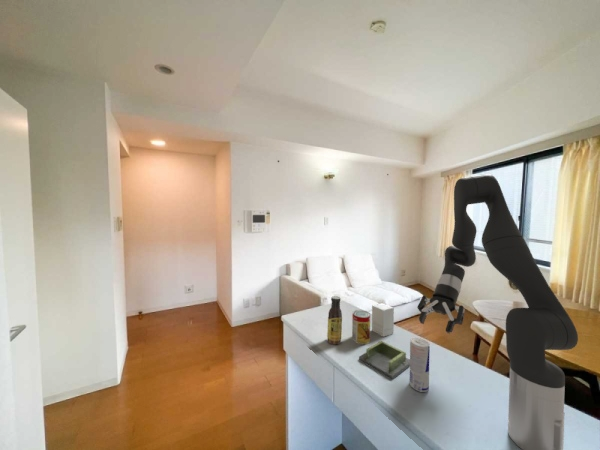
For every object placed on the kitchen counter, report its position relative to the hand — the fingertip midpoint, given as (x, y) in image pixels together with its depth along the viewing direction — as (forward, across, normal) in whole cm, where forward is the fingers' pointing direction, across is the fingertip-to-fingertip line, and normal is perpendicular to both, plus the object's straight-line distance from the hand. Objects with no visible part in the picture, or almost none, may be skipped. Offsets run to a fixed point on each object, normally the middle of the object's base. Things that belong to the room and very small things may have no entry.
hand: (433, 327), depth 80 cm
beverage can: (+19, 0, +5) cm, 20 cm away
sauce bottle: (+21, -36, +3) cm, 42 cm away
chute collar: (+17, -14, +7) cm, 23 cm away
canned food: (+13, -30, +11) cm, 34 cm away
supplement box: (+3, -28, +21) cm, 35 cm away
